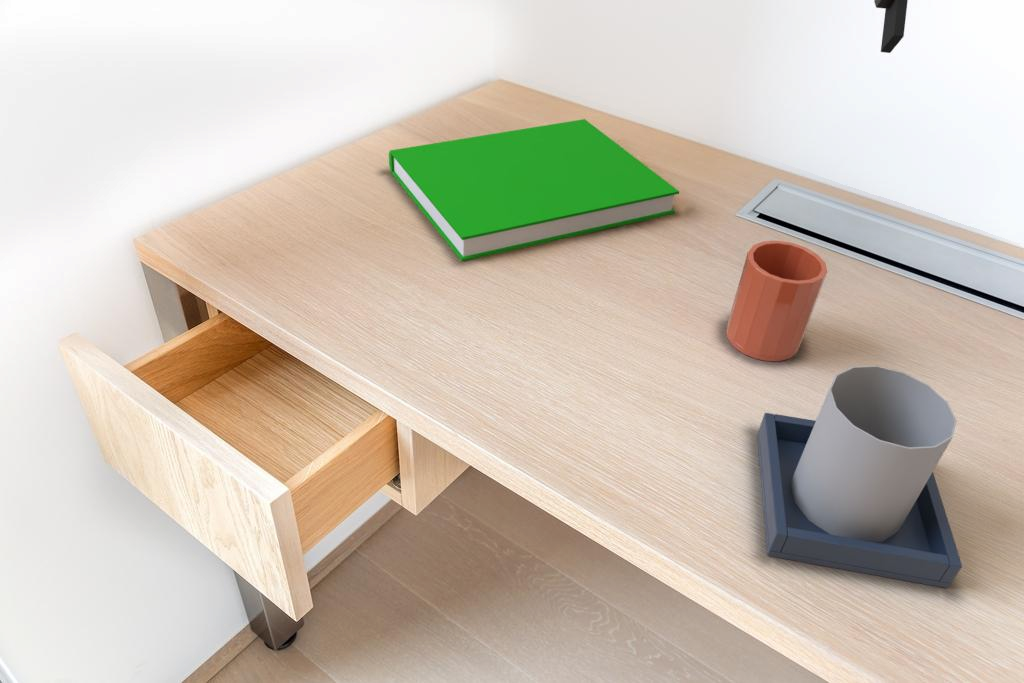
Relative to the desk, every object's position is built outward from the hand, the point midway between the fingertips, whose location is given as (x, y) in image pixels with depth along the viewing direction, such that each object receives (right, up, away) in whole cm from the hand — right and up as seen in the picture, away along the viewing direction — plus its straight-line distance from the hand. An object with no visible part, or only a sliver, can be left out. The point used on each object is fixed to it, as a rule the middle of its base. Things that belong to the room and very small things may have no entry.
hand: (980, 54), depth 63 cm
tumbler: (-13, -22, +15) cm, 30 cm away
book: (-35, -4, +36) cm, 50 cm away
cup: (-11, -35, -1) cm, 37 cm away
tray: (-11, -35, -1) cm, 37 cm away
